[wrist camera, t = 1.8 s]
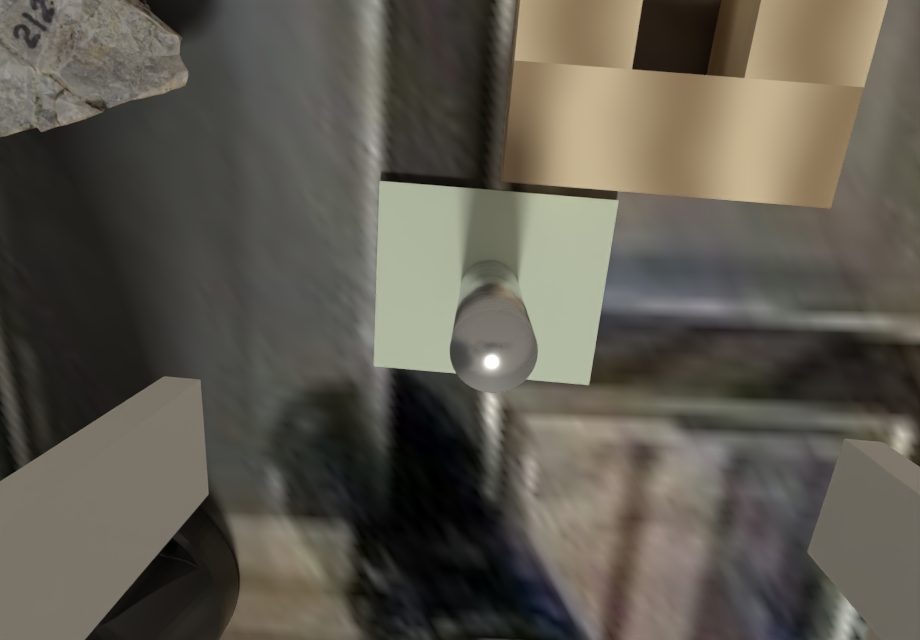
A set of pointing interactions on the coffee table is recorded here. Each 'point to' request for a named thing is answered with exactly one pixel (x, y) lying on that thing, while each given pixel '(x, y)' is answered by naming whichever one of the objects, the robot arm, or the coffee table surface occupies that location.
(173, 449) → the robot arm
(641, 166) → the hole block
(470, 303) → the pin
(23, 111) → the mineral specimen
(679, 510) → the coffee table surface
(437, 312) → the mat
